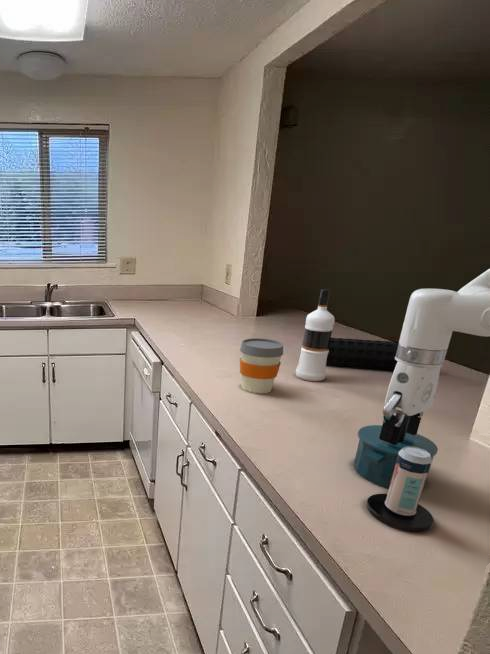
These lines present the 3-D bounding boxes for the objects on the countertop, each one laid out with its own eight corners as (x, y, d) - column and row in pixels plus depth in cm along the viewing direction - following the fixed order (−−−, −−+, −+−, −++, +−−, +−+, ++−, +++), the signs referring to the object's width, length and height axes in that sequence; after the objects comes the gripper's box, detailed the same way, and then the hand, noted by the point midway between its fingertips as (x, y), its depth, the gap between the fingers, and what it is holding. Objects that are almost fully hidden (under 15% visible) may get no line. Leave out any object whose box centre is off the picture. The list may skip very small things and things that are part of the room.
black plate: (442, 519, 78) (444, 515, 78) (415, 539, 73) (417, 535, 73) (383, 492, 86) (384, 487, 86) (355, 508, 81) (356, 504, 81)
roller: (303, 362, 159) (307, 335, 159) (299, 362, 169) (302, 336, 168) (426, 372, 148) (430, 342, 147) (414, 371, 157) (417, 344, 157)
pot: (441, 475, 92) (452, 443, 89) (398, 502, 83) (408, 468, 80) (378, 450, 102) (386, 421, 99) (334, 471, 93) (341, 440, 90)
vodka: (288, 374, 152) (303, 288, 141) (310, 371, 154) (325, 286, 144) (309, 383, 143) (325, 292, 133) (331, 380, 146) (349, 290, 136)
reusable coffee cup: (259, 379, 147) (265, 336, 142) (286, 392, 136) (293, 346, 131) (227, 383, 143) (232, 340, 138) (252, 397, 132) (258, 350, 127)
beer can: (399, 500, 82) (415, 443, 78) (422, 515, 77) (440, 457, 73) (377, 503, 81) (393, 446, 77) (400, 519, 77) (417, 460, 72)
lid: (448, 449, 88) (458, 420, 85) (416, 468, 81) (425, 437, 79) (377, 424, 99) (384, 397, 96) (343, 439, 92) (350, 411, 90)
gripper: (420, 367, 76) (396, 456, 82) (463, 352, 84) (438, 434, 90) (375, 357, 82) (355, 440, 88) (419, 343, 90) (399, 420, 96)
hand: (397, 436), depth 89 cm, fingers open, 7 cm apart
